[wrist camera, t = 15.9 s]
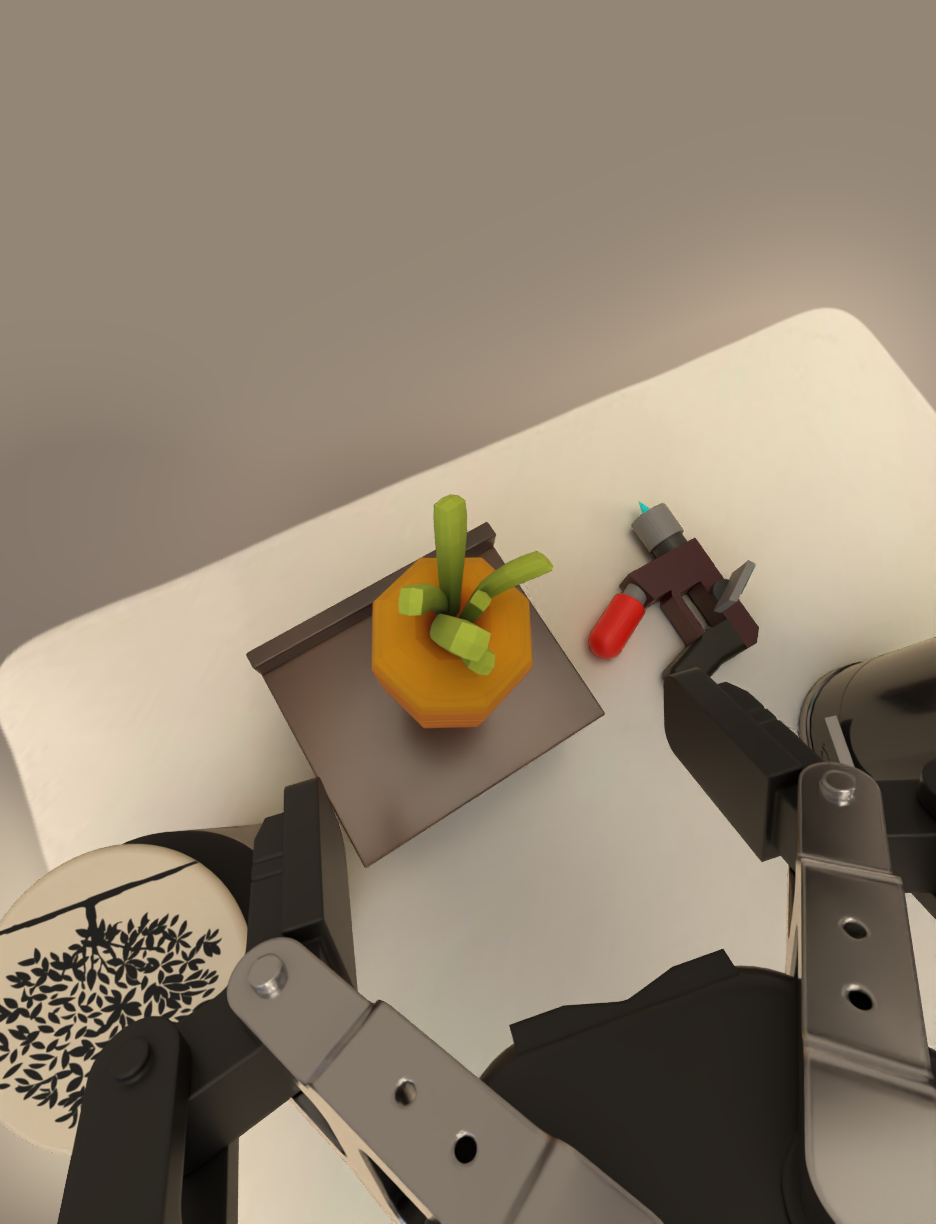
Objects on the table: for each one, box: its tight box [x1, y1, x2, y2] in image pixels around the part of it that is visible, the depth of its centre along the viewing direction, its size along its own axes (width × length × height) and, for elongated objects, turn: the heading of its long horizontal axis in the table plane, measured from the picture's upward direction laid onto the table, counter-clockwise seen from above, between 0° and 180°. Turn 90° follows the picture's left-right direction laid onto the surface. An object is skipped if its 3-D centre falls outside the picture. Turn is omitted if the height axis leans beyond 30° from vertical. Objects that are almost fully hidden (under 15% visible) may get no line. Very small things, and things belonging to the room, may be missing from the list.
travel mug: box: [0, 824, 262, 1156], centre depth 26 cm, size 8×8×18 cm
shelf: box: [246, 522, 605, 868], centre depth 32 cm, size 12×10×11 cm
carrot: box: [372, 494, 553, 728], centre depth 21 cm, size 5×5×15 cm
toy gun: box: [589, 502, 759, 680], centre depth 38 cm, size 10×12×5 cm
